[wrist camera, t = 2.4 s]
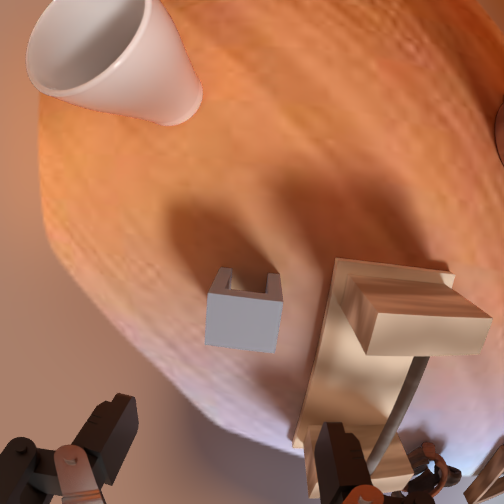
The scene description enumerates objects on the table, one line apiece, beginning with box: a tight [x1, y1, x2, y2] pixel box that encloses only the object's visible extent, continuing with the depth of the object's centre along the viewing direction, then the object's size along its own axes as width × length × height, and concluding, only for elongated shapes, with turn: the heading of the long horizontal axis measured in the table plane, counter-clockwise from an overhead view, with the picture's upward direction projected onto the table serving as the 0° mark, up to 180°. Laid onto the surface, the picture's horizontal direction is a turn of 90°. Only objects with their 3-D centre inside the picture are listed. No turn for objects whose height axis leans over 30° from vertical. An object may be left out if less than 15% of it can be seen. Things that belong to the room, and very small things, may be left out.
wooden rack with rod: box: [292, 258, 493, 498], centre depth 24 cm, size 22×12×9 cm, turn 174°
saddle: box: [205, 267, 283, 353], centre depth 24 cm, size 4×5×6 cm
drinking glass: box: [26, 0, 203, 126], centre depth 16 cm, size 7×7×15 cm
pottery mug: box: [391, 442, 462, 498], centre depth 30 cm, size 12×10×8 cm
